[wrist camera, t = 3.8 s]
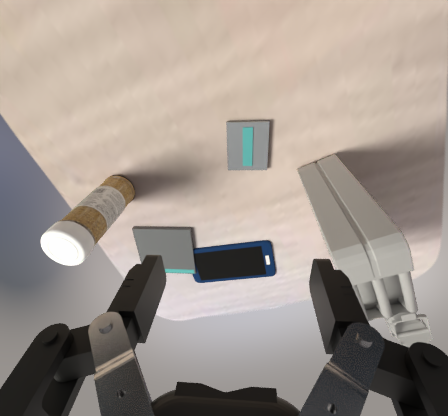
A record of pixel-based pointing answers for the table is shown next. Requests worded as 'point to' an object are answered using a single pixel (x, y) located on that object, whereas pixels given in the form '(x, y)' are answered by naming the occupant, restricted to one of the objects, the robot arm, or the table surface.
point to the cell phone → (234, 261)
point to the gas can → (365, 248)
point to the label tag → (247, 145)
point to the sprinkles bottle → (87, 222)
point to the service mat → (167, 247)
